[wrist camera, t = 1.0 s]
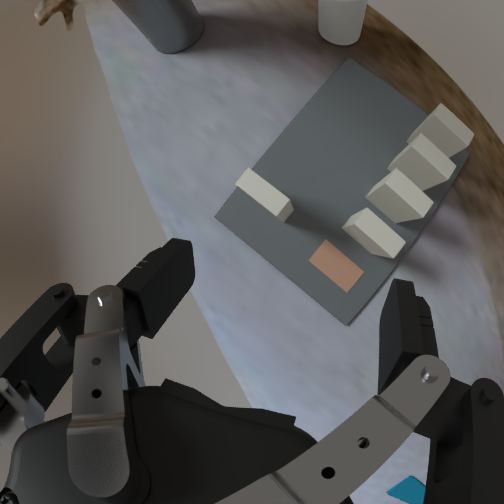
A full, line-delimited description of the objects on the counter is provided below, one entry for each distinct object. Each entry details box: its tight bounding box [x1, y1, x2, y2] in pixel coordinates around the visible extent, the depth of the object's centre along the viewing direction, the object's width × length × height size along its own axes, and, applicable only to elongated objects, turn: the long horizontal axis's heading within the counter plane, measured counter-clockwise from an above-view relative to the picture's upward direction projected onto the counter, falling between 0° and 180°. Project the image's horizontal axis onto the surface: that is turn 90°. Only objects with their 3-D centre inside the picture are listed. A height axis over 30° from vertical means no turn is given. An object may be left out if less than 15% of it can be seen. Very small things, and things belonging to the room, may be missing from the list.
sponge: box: [387, 476, 426, 504], centre depth 36 cm, size 2×12×6 cm
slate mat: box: [214, 57, 470, 326], centre depth 36 cm, size 22×30×1 cm
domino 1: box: [235, 168, 294, 222], centre depth 33 cm, size 5×2×10 cm, turn 51°
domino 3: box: [387, 133, 456, 191], centre depth 30 cm, size 5×2×10 cm, turn 51°
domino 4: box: [365, 168, 434, 223], centre depth 31 cm, size 5×2×10 cm, turn 51°
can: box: [318, 0, 367, 45], centre depth 30 cm, size 6×6×12 cm
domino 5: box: [342, 208, 406, 259], centre depth 31 cm, size 5×2×10 cm, turn 51°
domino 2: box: [407, 103, 475, 158], centre depth 29 cm, size 5×2×10 cm, turn 51°
